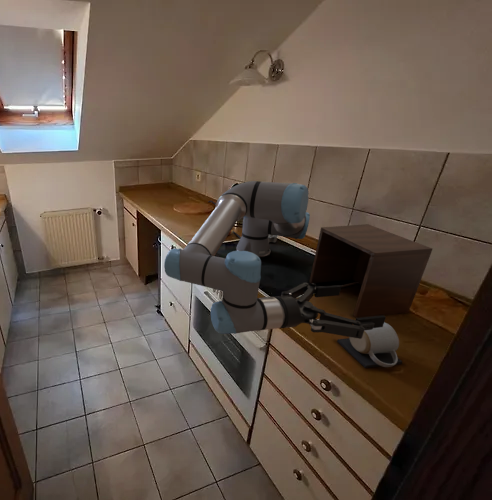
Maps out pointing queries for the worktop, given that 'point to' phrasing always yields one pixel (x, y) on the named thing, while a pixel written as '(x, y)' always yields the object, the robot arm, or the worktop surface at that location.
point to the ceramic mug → (378, 343)
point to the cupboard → (371, 266)
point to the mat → (366, 355)
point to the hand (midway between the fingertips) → (359, 304)
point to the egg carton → (272, 238)
